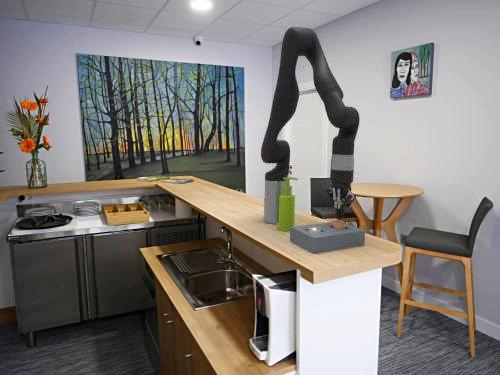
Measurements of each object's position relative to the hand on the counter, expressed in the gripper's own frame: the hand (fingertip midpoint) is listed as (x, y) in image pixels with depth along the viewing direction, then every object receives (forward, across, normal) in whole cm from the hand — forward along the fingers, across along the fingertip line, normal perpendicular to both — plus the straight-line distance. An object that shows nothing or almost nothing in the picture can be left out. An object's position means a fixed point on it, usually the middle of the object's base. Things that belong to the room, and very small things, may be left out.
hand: (339, 219), depth 126 cm
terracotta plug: (+6, 0, 0) cm, 6 cm away
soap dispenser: (+8, -20, -8) cm, 23 cm away
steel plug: (+7, 0, -10) cm, 12 cm away
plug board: (+8, 0, -5) cm, 9 cm away
